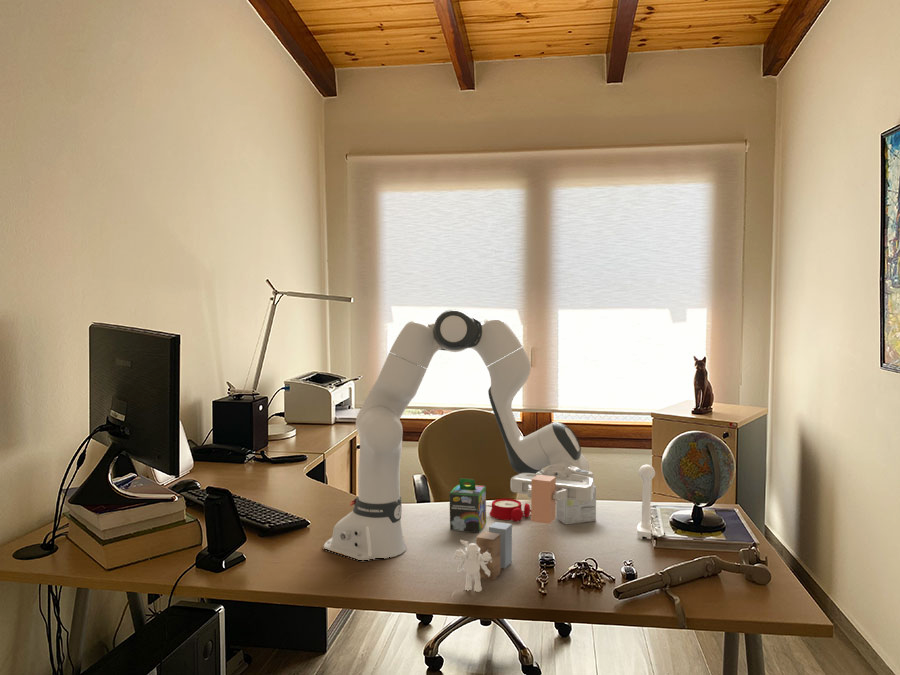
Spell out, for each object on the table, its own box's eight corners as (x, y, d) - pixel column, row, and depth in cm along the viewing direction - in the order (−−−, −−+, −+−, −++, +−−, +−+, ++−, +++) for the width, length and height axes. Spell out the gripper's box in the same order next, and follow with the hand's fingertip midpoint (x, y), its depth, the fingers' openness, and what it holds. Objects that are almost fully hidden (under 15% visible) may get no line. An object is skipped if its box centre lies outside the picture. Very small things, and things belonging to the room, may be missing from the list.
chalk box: (486, 523, 209) (486, 474, 208) (479, 533, 201) (479, 483, 200) (457, 520, 212) (457, 472, 211) (448, 530, 203) (448, 480, 202)
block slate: (488, 565, 177) (488, 526, 177) (495, 559, 181) (495, 521, 181) (505, 568, 175) (505, 529, 175) (511, 562, 179) (511, 524, 179)
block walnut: (476, 577, 170) (476, 536, 169) (483, 570, 174) (483, 531, 173) (493, 580, 168) (493, 539, 167) (500, 573, 172) (500, 533, 172)
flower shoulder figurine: (452, 590, 162) (452, 540, 162) (457, 583, 166) (457, 534, 165) (490, 595, 160) (490, 544, 159) (494, 588, 164) (494, 538, 163)
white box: (585, 514, 217) (586, 480, 217) (596, 521, 211) (597, 486, 210) (554, 518, 214) (555, 483, 213) (565, 525, 208) (565, 489, 207)
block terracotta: (531, 521, 163) (531, 479, 162) (537, 515, 167) (537, 474, 166) (549, 523, 161) (550, 481, 160) (555, 518, 165) (555, 476, 164)
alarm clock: (498, 496, 225) (538, 494, 216) (502, 516, 224) (542, 514, 215) (480, 504, 216) (520, 502, 208) (483, 524, 216) (524, 523, 207)
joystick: (641, 526, 206) (643, 459, 205) (668, 530, 203) (669, 462, 202) (633, 538, 197) (635, 468, 195) (661, 542, 193) (662, 471, 192)
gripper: (520, 464, 179) (500, 477, 167) (599, 473, 171) (585, 487, 158) (520, 488, 180) (500, 503, 167) (599, 498, 171) (584, 514, 159)
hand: (542, 495), depth 163 cm, fingers closed on block terracotta, 4 cm apart
